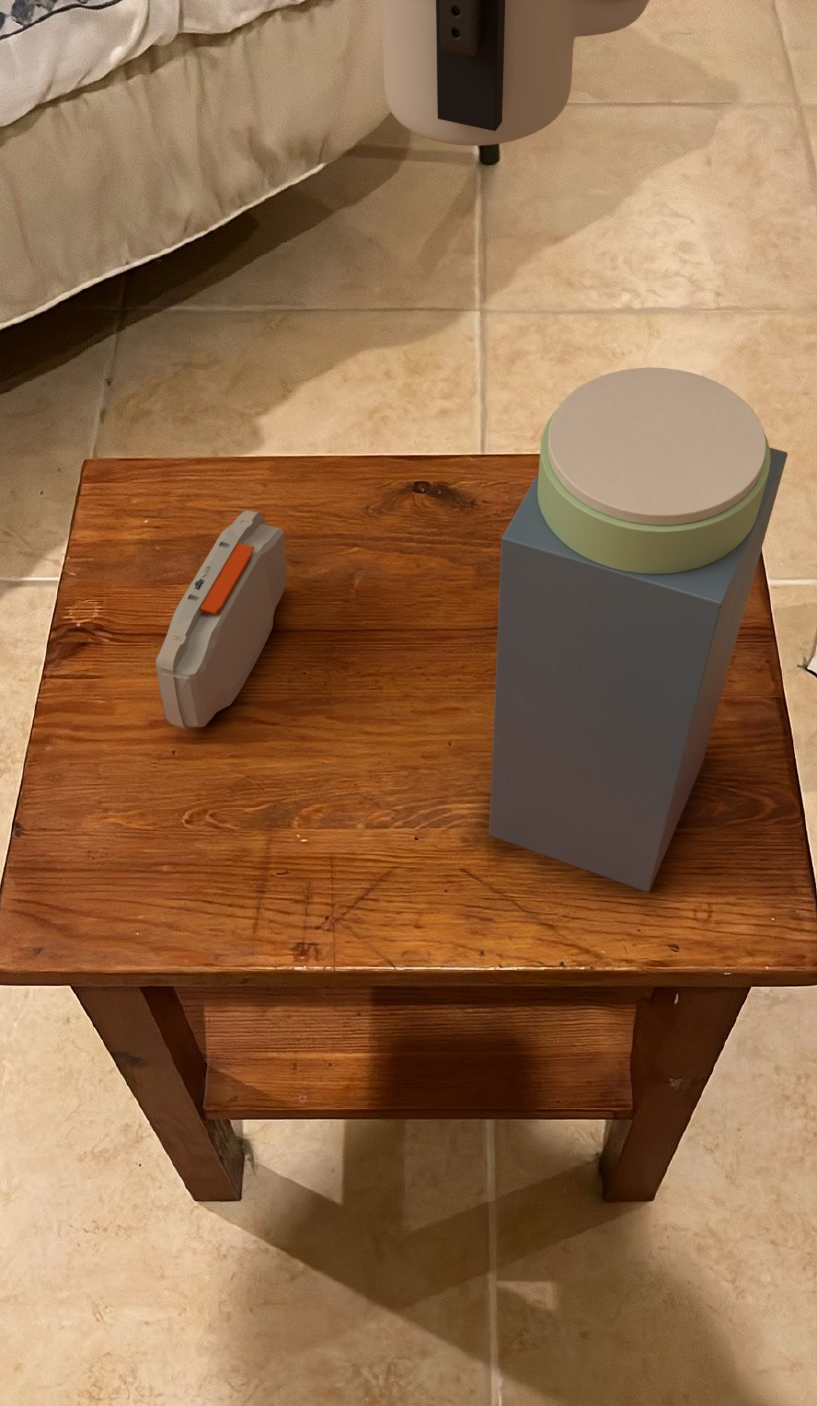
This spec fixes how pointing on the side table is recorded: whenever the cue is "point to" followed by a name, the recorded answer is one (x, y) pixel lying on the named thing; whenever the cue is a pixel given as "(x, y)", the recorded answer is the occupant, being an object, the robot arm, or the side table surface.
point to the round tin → (652, 470)
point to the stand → (608, 693)
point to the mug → (537, 63)
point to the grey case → (222, 622)
